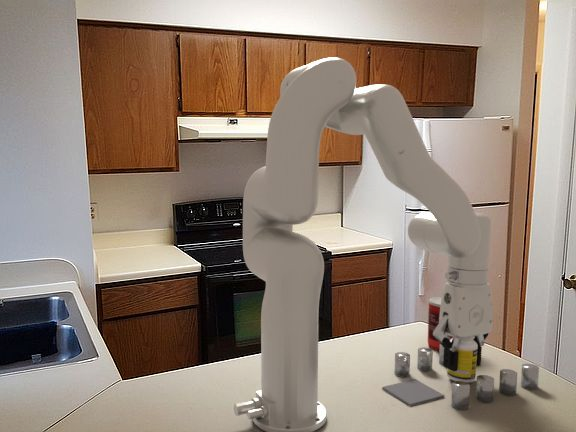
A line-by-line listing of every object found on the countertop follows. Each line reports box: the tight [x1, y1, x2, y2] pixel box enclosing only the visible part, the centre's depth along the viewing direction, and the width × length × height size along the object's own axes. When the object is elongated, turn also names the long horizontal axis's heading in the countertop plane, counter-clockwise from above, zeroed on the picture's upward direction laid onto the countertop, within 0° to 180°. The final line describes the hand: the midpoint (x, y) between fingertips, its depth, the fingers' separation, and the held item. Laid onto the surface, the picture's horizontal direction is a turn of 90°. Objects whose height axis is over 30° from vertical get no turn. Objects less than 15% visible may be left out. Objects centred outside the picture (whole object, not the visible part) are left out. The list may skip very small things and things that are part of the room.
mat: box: [381, 378, 445, 407], centre depth 101 cm, size 8×8×1 cm
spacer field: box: [394, 344, 540, 411], centre depth 106 cm, size 21×19×4 cm
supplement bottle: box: [446, 336, 478, 384], centre depth 106 cm, size 5×5×10 cm
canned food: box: [427, 295, 453, 352], centre depth 125 cm, size 8×8×11 cm
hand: (461, 365), depth 106 cm, fingers closed on supplement bottle, 5 cm apart
